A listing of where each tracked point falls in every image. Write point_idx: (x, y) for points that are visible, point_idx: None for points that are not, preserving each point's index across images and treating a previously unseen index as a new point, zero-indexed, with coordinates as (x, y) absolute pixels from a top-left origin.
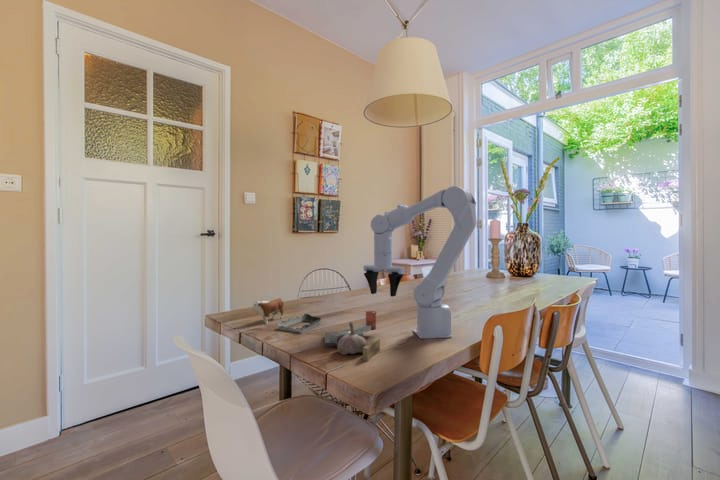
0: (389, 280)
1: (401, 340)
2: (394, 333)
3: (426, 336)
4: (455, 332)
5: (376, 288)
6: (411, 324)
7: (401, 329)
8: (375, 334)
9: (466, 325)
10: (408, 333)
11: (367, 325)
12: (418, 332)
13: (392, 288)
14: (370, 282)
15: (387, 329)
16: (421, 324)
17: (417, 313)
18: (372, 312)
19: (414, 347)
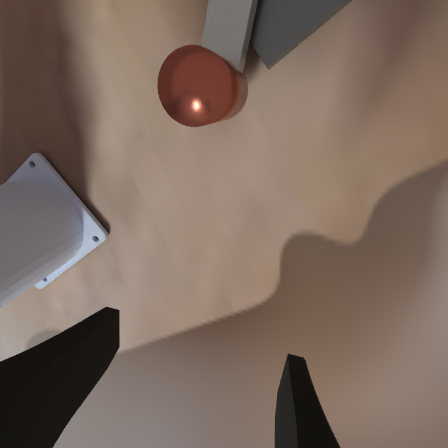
0: (3, 393)
1: (86, 98)
2: (155, 176)
3: (24, 170)
4: None
5: (275, 429)
6: (158, 315)
7: (158, 240)
8: None
9: None
10: (111, 201)
11: (211, 40)
12: (60, 193)
13: (51, 338)
14: (303, 443)
15: (207, 216)
16: (13, 192)
17: (5, 229)
18: (173, 76)
19: (6, 39)
